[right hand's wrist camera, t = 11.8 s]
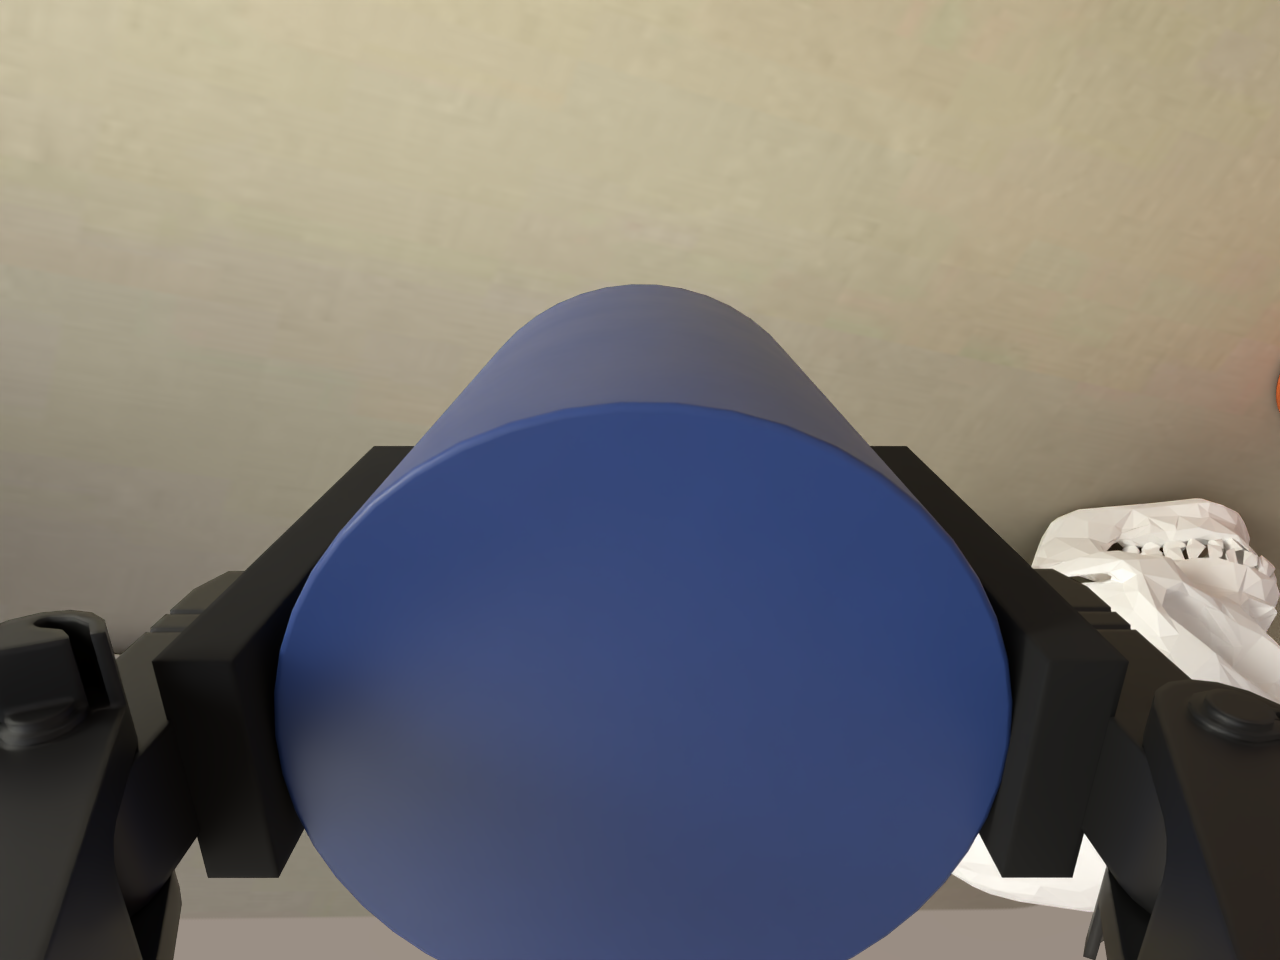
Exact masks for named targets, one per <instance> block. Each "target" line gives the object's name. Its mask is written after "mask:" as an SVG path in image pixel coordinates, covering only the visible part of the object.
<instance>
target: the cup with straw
mask: <svg viewBox="0 0 1280 960" xmlns="http://www.w3.org/2000/svg"><path fill="white" fill-rule="evenodd" d="M1276 400H1277V406H1278V409H1279V412H1280V376H1279V379H1278V383H1277V389H1276Z"/></svg>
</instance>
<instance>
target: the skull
mask: <svg viewBox="0 0 1280 960" xmlns="http://www.w3.org/2000/svg"><path fill="white" fill-rule="evenodd" d="M1249 541H1250V537H1249V534H1248V531H1247V528H1246V525H1245V523H1244V521H1243V520H1242V518H1241V516H1240V515H1239V513H1238V512H1236V511H1234V510H1232V509H1230V508H1228V507H1226V506H1224V505H1221V504H1218V503H1214V502H1211V501H1208V500H1205V499H1201V498H1193V499H1184V500H1175V501H1166V502H1157V503H1147V504H1135V505H1124V506H1112V507H1100V508H1089V509H1078V510H1076V511H1073V512H1071V513H1068V514H1066V515H1063V516H1061V517H1058V518H1057V519H1055V520H1054V521H1053V522H1051V524H1050V525H1049V527H1048V528H1047V530H1046V532H1045V533H1044V535H1043V536H1042V538H1041V541H1040V544H1039V546H1038V549H1037V552H1036V554H1035V557H1034V560H1033V563H1032V566H1031V567H1032V568H1033V569H1054V570H1056V571H1058V572H1060V573H1062V574H1064V575H1066V576H1068V577H1071V576H1080V577H1083V578H1086V579H1089V580H1092V581H1095V582H1088V583H1082V584H1083V585H1085V586H1087V587H1089V588H1090V589H1091V590H1092V591H1093V592H1094V593H1095V594H1096V595H1098V596H1099V597H1100V598H1101V599H1102V600H1103V601H1104V602H1105V603H1107V604H1108V605H1109V606H1110V607H1111V612H1117V613H1118V614H1119V615H1120V616H1121V617H1122V618H1123V619H1124V620H1126V621H1127V622H1128V623H1129V624H1130V625H1131V630H1137V631H1138V632H1139V633H1140V634H1141V635H1142V636H1144V637H1145V638H1146V639H1147V640H1148V641H1149V642H1150V643H1151V644H1153V645H1154V646H1155V647H1156V648H1157V649H1158V650H1159V651H1160V652H1162V653H1163V654H1164V655H1165V656H1166V657H1167V658H1168V659H1169V660H1171V661H1172V662H1173V663H1174V664H1175V665H1176V666H1177V667H1178V668H1180V669H1181V670H1182V671H1183V672H1184V673H1185V674H1186V675H1187V676H1189V677H1190V678H1191V679H1193V680H1202V681H1212V682H1219V683H1222V684H1226V685H1230V686H1233V687H1237V688H1241V689H1244V690H1248V691H1250V692H1253V693H1255V694H1257V695H1260V696H1262V697H1264V698H1267V699H1269V700H1271V701H1273V702H1276V703H1278V704H1280V646H1279V645H1278V644H1277V643H1276V642H1275V641H1274V640H1273V639H1272V638H1271V637H1270V636H1269V635H1268V634H1267V633H1266V632H1267V630H1268V628H1269V626H1270V625H1271V623H1272V621H1273V620H1274V618H1275V616H1276V614H1277V611H1276V609H1275V606H1276V604H1277V601H1278V599H1279V596H1280V593H1279V590H1278V587H1277V584H1276V582H1277V578H1276V576H1275V573H1274V570H1275V567H1274V565H1273V564H1272V563H1270V562H1269V561H1268V560H1267V559H1266V558H1264V557H1263V556H1262V555H1261V556H1260V557H1258V555H1257V554H1256V553H1255V551H1254V550H1253V549H1252V548H1251V547H1250V546H1249ZM1117 542H1118V543H1119V544H1120V545H1121V546H1122V547H1123V548H1124V549H1122V550H1123V551H1107V550H1108V549H1109V548H1110V547H1111V545H1112V544H1114V543H1117ZM1203 544H1204V545H1207V546H1208V553H1207V554H1206V555H1205V556H1204V557H1203V558H1198V556H1199V555H1200V554H1201V552H1202V551H1203V550H1204V549H1205V548H1206V546H1204V545H1203ZM1186 545H1187V546H1186ZM1141 547H1143V548H1142V553H1140V551H1139V549H1138V548H1141ZM1160 547H1163V551H1164V555H1165V556H1163V555H1162V554H1163V553H1162V552H1161V551H1159V549H1160ZM1185 548H1186V549H1187V554H1188V558H1189V559H1186V560H1185V559H1184V556H1183V554H1182V552H1183V551H1184V549H1185ZM1105 869H1106V864H1105V863H1104V861H1103V860H1102V858H1101V857H1100V856H1099V854H1098V853H1097V851H1096V850H1095V848H1094V847H1093V845H1092V844H1091V842H1090V841H1089V840H1088V838H1087V837H1086V835H1085V834H1084V836H1083V840H1082V844H1081V847H1080V851H1079V855H1078V859H1077V863H1076V866H1075V870H1074V874H1073V878H1002V877H1001V875H1000V873H999V871H998V869H997V867H996V865H995V863H994V861H993V860H992V858H991V856H990V854H989V852H988V850H987V848H986V846H985V844H984V842H983V841H982V839H981V837H980V835H979V833H978V835H977V837H976V839H975V840H974V842H973V844H972V846H971V848H970V849H969V851H968V853H967V854H966V855H965V857H964V858H963V859H962V861H961V862H960V863H959V864H958V866H957V867H956V868H955V870H954V871H953V872H952V874H953V875H955V876H956V877H958V878H960V879H961V880H963V881H965V882H966V883H968V884H970V885H971V886H973V887H975V888H978V889H980V890H982V891H985V892H987V893H989V894H992V895H996V896H1000V897H1004V898H1008V899H1012V900H1015V901H1019V902H1026V903H1033V904H1039V905H1046V906H1053V907H1060V908H1067V909H1074V910H1080V911H1087V912H1094V909H1095V905H1096V901H1097V898H1098V894H1099V891H1100V887H1101V884H1102V880H1103V876H1104V873H1105Z"/></svg>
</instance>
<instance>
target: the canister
mask: <svg viewBox="0 0 1280 960" xmlns="http://www.w3.org/2000/svg"><path fill="white" fill-rule="evenodd" d="M274 713H275V737H276V743H277V748H278V753H279V759H280V764H281V769H282V774H283V777H284V780H285V783H286V786H287V789H288V791H289V794H290V797H291V800H292V803H293V806H294V808H295V811H296V813H297V815H298V817H299V819H300V821H301V823H302V824H303V826H304V828H305V830H306V832H307V834H308V836H309V838H310V840H311V842H312V843H313V845H314V847H315V848H316V850H317V851H318V852H319V854H320V855H321V857H322V858H323V859H324V861H325V862H326V864H327V865H328V866H329V868H330V869H331V871H332V872H333V873H334V875H335V876H336V877H337V879H338V880H339V881H340V882H341V883H342V884H343V885H344V886H345V887H346V888H347V889H348V890H349V892H350V893H351V894H352V895H353V896H354V897H355V898H356V899H357V900H358V901H359V902H360V903H361V904H362V906H364V907H365V908H366V909H367V910H368V911H369V912H371V913H372V914H373V915H374V916H375V917H377V918H378V919H379V920H380V921H381V922H382V923H384V924H385V925H386V926H387V927H388V928H390V929H391V930H392V931H393V932H395V933H396V934H398V935H399V936H401V937H402V938H404V939H405V940H407V941H408V942H410V943H411V944H413V945H414V946H416V947H417V948H418V949H420V950H421V951H423V952H424V953H426V954H428V955H430V956H432V957H434V958H435V959H437V960H848V959H850V958H852V957H854V956H856V955H857V954H859V953H860V952H862V951H864V950H865V949H867V948H868V947H870V946H871V945H873V944H874V943H876V942H878V941H879V940H881V939H882V938H884V937H885V936H887V935H888V934H889V933H891V932H892V931H893V930H894V929H895V928H897V927H898V926H899V925H900V924H902V923H903V922H904V921H905V920H907V919H908V918H909V917H910V916H912V915H913V914H914V913H915V912H917V911H918V910H919V909H920V908H921V907H922V906H923V905H924V903H925V902H926V901H927V900H928V899H929V898H930V897H931V896H932V895H933V894H934V893H935V892H936V891H937V890H938V889H939V888H940V887H941V886H942V885H943V884H944V883H945V882H946V880H947V879H948V878H949V876H950V875H951V874H952V872H953V871H954V870H955V868H956V867H957V866H958V864H959V863H960V862H961V861H962V859H963V858H964V857H965V855H966V854H967V853H968V851H969V849H970V848H971V846H972V844H973V842H974V840H975V839H976V837H977V835H978V833H979V832H980V830H981V828H982V826H983V824H984V823H985V821H986V819H987V817H988V815H989V812H990V809H991V807H992V804H993V802H994V799H995V797H996V794H997V791H998V789H999V786H1000V784H1001V781H1002V776H1003V771H1004V767H1005V762H1006V757H1007V752H1008V748H1009V743H1010V734H1011V717H1012V692H1011V682H1010V673H1009V663H1008V656H1007V653H1006V649H1005V645H1004V642H1003V638H1002V634H1001V631H1000V627H999V623H998V620H997V617H996V614H995V612H994V610H993V608H992V606H991V603H990V601H989V599H988V597H987V595H986V592H985V590H984V588H983V586H982V584H981V582H980V579H979V577H978V576H977V574H976V573H975V571H974V570H973V568H972V567H971V565H970V564H969V562H968V561H967V559H966V558H965V556H964V555H963V553H962V552H961V550H960V549H959V547H958V546H957V544H956V543H955V541H954V540H953V539H952V538H951V536H950V535H949V534H948V533H947V532H946V531H945V530H944V529H943V528H942V526H941V525H940V524H939V523H938V522H937V521H936V520H935V519H934V517H933V516H932V515H931V514H930V513H929V512H928V511H927V510H926V508H925V507H924V506H923V505H922V504H921V503H920V502H919V501H918V500H917V498H916V497H915V496H914V495H913V494H912V493H911V492H910V491H909V489H908V488H907V487H906V486H905V485H904V484H903V483H902V482H901V480H900V479H899V478H898V477H897V476H896V475H895V474H894V473H893V472H892V470H891V469H890V468H889V467H888V466H887V465H886V464H885V463H884V461H883V460H882V459H881V458H880V457H879V456H878V455H877V454H876V452H875V451H874V450H873V449H872V448H871V447H870V446H869V445H868V444H867V442H866V441H865V440H864V439H863V438H862V437H861V436H860V435H859V433H858V432H857V431H856V430H855V429H854V428H853V427H852V426H851V425H850V423H849V422H848V421H847V420H846V419H845V418H844V417H843V416H842V414H841V413H840V412H839V411H838V410H837V409H836V408H835V407H834V405H833V404H832V403H831V402H830V401H829V400H828V399H827V398H826V397H825V395H824V394H823V393H822V392H821V391H820V390H819V389H818V388H817V386H816V385H815V384H814V383H813V382H812V381H811V380H810V379H809V377H808V376H807V375H806V374H805V373H804V372H803V371H802V370H801V369H800V367H799V366H798V365H797V364H796V363H795V362H794V361H793V360H792V358H791V357H790V356H789V355H788V354H787V353H786V352H785V351H784V350H783V348H782V347H781V346H780V345H779V344H778V343H777V342H776V341H775V340H774V339H773V338H772V336H771V335H770V334H768V333H767V332H766V331H765V330H764V329H762V328H761V327H760V326H759V325H758V324H756V323H755V322H754V321H753V320H752V319H750V318H749V317H747V316H745V315H744V314H742V313H741V312H739V311H737V310H736V309H734V308H732V307H731V306H729V305H727V304H724V303H722V302H720V301H718V300H715V299H713V298H711V297H709V296H706V295H703V294H699V293H696V292H692V291H689V290H686V289H682V288H675V287H669V286H662V285H635V284H631V285H623V286H614V287H606V288H602V289H598V290H595V291H591V292H587V293H583V294H580V295H578V296H575V297H573V298H570V299H568V300H565V301H563V302H561V303H558V304H556V305H555V306H553V307H551V308H549V309H548V310H546V311H544V312H543V313H541V314H539V315H537V316H536V317H535V318H533V319H532V320H531V321H529V322H528V323H527V324H526V325H524V326H523V327H522V328H521V329H519V330H518V331H517V332H516V333H515V334H514V335H513V336H512V337H511V338H510V339H509V340H508V341H507V342H506V343H505V344H504V345H503V346H502V347H501V348H500V349H499V351H498V352H497V353H496V354H495V355H494V356H493V357H492V359H491V360H490V361H489V362H488V363H487V364H486V365H485V367H484V368H483V369H482V370H481V371H480V372H479V373H478V375H477V376H476V377H475V378H474V379H473V380H472V381H471V383H470V384H469V385H468V386H467V387H466V388H465V389H464V391H463V392H462V393H461V394H460V395H459V396H458V397H457V398H456V400H455V401H454V402H453V403H452V404H451V405H450V406H449V408H448V409H447V410H446V411H445V412H444V413H443V414H442V416H441V417H440V418H439V419H438V420H437V421H436V422H435V424H434V425H433V426H432V427H431V428H430V429H429V430H428V432H427V433H426V434H425V435H424V436H423V437H422V438H421V440H420V441H419V442H418V443H417V444H416V445H415V446H414V448H413V449H412V450H411V451H410V452H409V453H408V454H407V456H406V457H405V458H404V459H403V460H402V461H401V462H400V464H399V465H398V466H397V467H396V468H395V469H394V470H393V471H392V473H391V474H390V475H389V476H388V477H387V478H386V479H385V481H384V482H383V483H382V484H381V485H380V486H379V487H378V489H377V490H376V491H375V492H374V493H373V494H372V495H371V497H370V498H369V499H368V500H367V501H366V502H365V503H364V505H363V506H362V507H361V508H360V509H359V510H358V511H357V513H356V514H355V515H354V516H353V517H352V518H351V519H350V521H349V522H348V523H347V524H346V525H345V526H344V527H343V529H342V530H341V531H340V532H339V533H338V535H337V536H336V537H335V539H334V540H333V542H332V543H331V544H330V546H329V547H328V549H327V550H326V551H325V553H324V554H323V556H322V557H321V558H320V560H319V561H318V563H317V564H316V565H315V567H314V568H313V570H312V571H311V573H310V575H309V577H308V579H307V581H306V583H305V585H304V587H303V589H302V591H301V593H300V595H299V597H298V599H297V601H296V603H295V605H294V608H293V610H292V612H291V616H290V619H289V622H288V625H287V629H286V632H285V635H284V638H283V642H282V645H281V648H280V652H279V660H278V667H277V674H276V682H275V689H274Z"/></svg>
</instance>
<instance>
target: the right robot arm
mask: <svg viewBox="0 0 1280 960" xmlns="http://www.w3.org/2000/svg"><path fill="white" fill-rule="evenodd" d="M870 447H871V448H872V449H873V450H874V451H875V452H876V454H877V455H878V456H879V457H880V458H881V459H882V460H883V461H884V463H885V464H886V465H887V466H888V467H889V468H890V469H891V470H892V472H893V473H894V474H895V475H896V476H897V477H898V478H899V479H900V480H901V482H902V483H903V484H904V485H905V486H906V487H907V488H908V489H909V491H910V492H911V493H912V494H913V495H914V496H915V497H916V498H917V500H918V501H919V502H920V503H921V504H922V505H923V506H924V507H925V508H926V510H927V511H928V512H929V513H930V514H931V515H932V516H933V517H934V519H935V520H936V521H937V522H938V523H939V524H940V525H941V526H942V528H943V529H944V530H945V531H946V532H947V533H948V534H949V535H950V536H951V538H952V539H953V540H954V541H955V543H956V544H957V546H958V547H959V549H960V550H961V552H962V553H963V555H964V556H965V558H966V559H967V561H968V562H969V564H970V565H971V567H972V568H973V570H974V571H975V573H976V574H977V576H978V577H979V579H980V582H981V584H982V586H983V588H984V590H985V592H986V595H987V597H988V599H989V601H990V603H991V606H992V608H993V610H994V612H995V614H996V617H997V620H998V623H999V627H1000V631H1001V634H1002V638H1003V642H1004V645H1005V649H1006V653H1007V656H1008V663H1009V673H1010V682H1011V692H1012V717H1011V734H1010V743H1009V748H1008V752H1007V757H1006V762H1005V767H1004V771H1003V776H1002V781H1001V784H1000V786H999V789H998V791H997V794H996V797H995V799H994V802H993V804H992V807H991V809H990V812H989V815H988V817H987V819H986V821H985V823H984V824H983V826H982V828H981V830H980V832H979V835H980V837H981V839H982V841H983V842H984V844H985V846H986V848H987V850H988V852H989V854H990V856H991V858H992V860H993V861H994V863H995V865H996V867H997V869H998V871H999V873H1000V875H1001V877H1002V878H1073V874H1074V870H1075V866H1076V863H1077V859H1078V855H1079V851H1080V847H1081V844H1082V840H1083V836H1084V834H1085V835H1086V837H1087V838H1088V840H1089V841H1090V842H1091V844H1092V845H1093V847H1094V848H1095V850H1096V851H1097V853H1098V854H1099V856H1100V857H1101V858H1102V860H1103V861H1104V863H1105V864H1106V869H1105V873H1104V876H1103V880H1102V884H1101V887H1100V891H1099V894H1098V898H1097V901H1096V905H1095V909H1094V912H1093V916H1092V919H1091V923H1090V926H1089V930H1088V934H1087V937H1086V942H1085V948H1084V955H1083V956H1084V957H1087V958H1090V959H1093V960H1095V959H1096V956H1097V953H1098V949H1099V946H1100V943H1101V942H1102V941H1104V942H1105V949H1106V955H1107V960H1280V704H1278V703H1276V702H1273V701H1271V700H1269V699H1267V698H1264V697H1262V696H1260V695H1257V694H1255V693H1253V692H1250V691H1248V690H1244V689H1241V688H1237V687H1233V686H1230V685H1226V684H1222V683H1219V682H1212V681H1202V680H1193V679H1191V678H1190V677H1189V676H1187V675H1186V674H1185V673H1184V672H1183V671H1182V670H1181V669H1180V668H1178V667H1177V666H1176V665H1175V664H1174V663H1173V662H1172V661H1171V660H1169V659H1168V658H1167V657H1166V656H1165V655H1164V654H1163V653H1162V652H1160V651H1159V650H1158V649H1157V648H1156V647H1155V646H1154V645H1153V644H1151V643H1150V642H1149V641H1148V640H1147V639H1146V638H1145V637H1144V636H1142V635H1141V634H1140V633H1139V632H1138V631H1137V630H1131V625H1130V624H1129V623H1128V622H1127V621H1126V620H1124V619H1123V618H1122V617H1121V616H1120V615H1119V614H1118V613H1117V612H1111V607H1110V606H1109V605H1108V604H1107V603H1105V602H1104V601H1103V600H1102V599H1101V598H1100V597H1099V596H1098V595H1096V594H1095V593H1094V592H1093V591H1092V590H1091V589H1090V588H1089V587H1087V586H1085V585H1083V584H1082V583H1080V582H1078V581H1076V580H1074V579H1072V578H1070V577H1068V576H1066V575H1064V574H1062V573H1060V572H1058V571H1056V570H1054V569H1033V568H1032V567H1031V566H1030V565H1029V564H1028V563H1027V562H1026V561H1025V560H1024V559H1023V558H1022V557H1021V556H1020V555H1019V554H1018V553H1016V552H1015V551H1014V550H1013V549H1012V548H1011V547H1010V546H1009V545H1008V544H1007V543H1006V542H1005V541H1004V540H1003V539H1002V538H1001V537H1000V536H999V535H998V534H997V533H996V532H995V531H994V530H993V529H992V528H991V527H990V526H989V525H988V524H986V523H985V522H984V521H983V520H982V519H981V518H980V517H979V516H978V515H977V514H976V513H975V512H974V511H973V510H972V509H971V508H970V507H969V506H968V505H967V504H966V503H965V502H964V501H963V500H962V499H961V498H960V497H959V496H958V495H956V494H955V493H954V492H953V491H952V490H951V489H950V488H949V487H948V486H947V485H946V484H945V483H944V482H943V481H942V480H941V479H940V478H939V477H938V476H937V475H936V474H935V473H934V472H933V471H932V470H931V469H930V468H929V467H928V466H927V465H925V464H924V463H923V462H922V461H921V460H920V459H919V458H918V457H917V456H916V455H915V454H914V453H913V452H912V451H911V450H910V449H909V448H908V447H907V446H870ZM413 448H414V446H374V447H373V448H372V449H371V450H370V451H369V452H367V453H366V454H365V455H364V456H363V457H362V458H361V459H360V460H359V461H358V462H357V463H356V464H355V465H354V466H353V467H352V468H351V469H350V470H349V471H348V472H347V473H346V474H345V475H344V476H343V477H342V478H341V479H340V480H339V481H337V482H336V483H335V484H334V485H333V486H332V487H331V488H330V489H329V490H328V491H327V492H326V493H325V494H324V495H323V496H322V497H321V498H320V499H319V500H318V501H317V502H316V503H315V504H314V505H313V506H312V507H311V508H310V509H309V510H308V511H306V512H305V513H304V514H303V515H302V516H301V517H300V518H299V519H298V520H297V521H296V522H295V523H294V524H293V525H292V526H291V527H290V528H289V529H288V530H287V531H286V532H285V533H284V534H283V535H282V536H281V537H280V538H279V539H278V540H276V541H275V542H274V543H273V544H272V545H271V546H270V547H269V548H268V549H267V550H266V551H265V552H264V553H263V554H262V555H261V556H260V557H259V558H258V559H257V560H256V561H255V562H254V563H253V564H252V565H251V566H250V567H249V568H248V569H247V570H245V571H228V572H226V573H224V574H222V575H220V576H218V577H217V578H215V579H213V580H211V581H209V582H207V583H205V584H203V585H201V586H199V587H197V588H195V589H194V590H192V591H191V592H190V593H189V594H188V595H187V596H186V597H185V598H183V599H182V600H181V601H180V602H179V603H178V604H177V605H176V606H175V607H173V608H172V609H171V610H170V614H166V615H165V616H163V617H162V618H161V619H160V620H159V621H158V622H157V623H156V624H155V625H153V626H152V627H151V631H150V632H146V633H144V634H143V635H142V636H141V637H140V638H139V639H138V640H137V641H136V642H134V643H133V644H132V645H131V646H130V647H129V648H128V649H127V650H126V651H124V652H123V653H122V654H121V655H120V656H119V657H118V658H117V659H115V655H114V652H113V648H112V644H111V641H110V637H109V634H108V630H107V627H106V623H105V620H104V619H102V618H100V617H99V616H97V615H95V614H94V613H92V612H83V611H74V610H65V611H54V612H43V613H38V614H33V615H29V616H25V617H20V618H16V619H12V620H8V621H5V622H2V623H0V960H173V958H174V951H175V944H176V938H177V932H178V925H179V919H180V912H181V906H182V901H181V894H180V887H179V884H178V880H177V876H176V873H175V868H176V867H177V865H178V864H179V862H180V861H181V859H182V858H183V856H184V855H185V853H186V852H187V850H188V849H189V848H190V846H191V845H192V843H193V842H194V840H195V839H196V837H198V841H199V845H200V849H201V853H202V856H203V860H204V864H205V868H206V872H207V876H208V878H279V876H280V874H281V872H282V870H283V868H284V866H285V864H286V863H287V861H288V859H289V857H290V855H291V853H292V851H293V849H294V847H295V845H296V843H297V842H298V840H299V838H300V836H301V834H302V832H303V830H304V826H303V824H302V823H301V821H300V819H299V817H298V815H297V813H296V811H295V808H294V806H293V803H292V800H291V797H290V794H289V791H288V789H287V786H286V783H285V780H284V777H283V774H282V769H281V764H280V759H279V753H278V748H277V743H276V737H275V713H274V689H275V682H276V674H277V667H278V660H279V652H280V648H281V645H282V642H283V638H284V635H285V632H286V629H287V625H288V622H289V619H290V616H291V612H292V610H293V608H294V605H295V603H296V601H297V599H298V597H299V595H300V593H301V591H302V589H303V587H304V585H305V583H306V581H307V579H308V577H309V575H310V573H311V571H312V570H313V568H314V567H315V565H316V564H317V563H318V561H319V560H320V558H321V557H322V556H323V554H324V553H325V551H326V550H327V549H328V547H329V546H330V544H331V543H332V542H333V540H334V539H335V537H336V536H337V535H338V533H339V532H340V531H341V530H342V529H343V527H344V526H345V525H346V524H347V523H348V522H349V521H350V519H351V518H352V517H353V516H354V515H355V514H356V513H357V511H358V510H359V509H360V508H361V507H362V506H363V505H364V503H365V502H366V501H367V500H368V499H369V498H370V497H371V495H372V494H373V493H374V492H375V491H376V490H377V489H378V487H379V486H380V485H381V484H382V483H383V482H384V481H385V479H386V478H387V477H388V476H389V475H390V474H391V473H392V471H393V470H394V469H395V468H396V467H397V466H398V465H399V464H400V462H401V461H402V460H403V459H404V458H405V457H406V456H407V454H408V453H409V452H410V451H411V450H412V449H413Z"/></svg>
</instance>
